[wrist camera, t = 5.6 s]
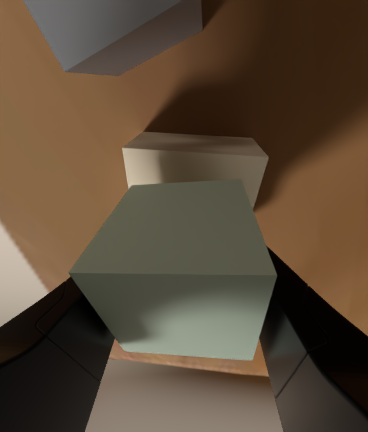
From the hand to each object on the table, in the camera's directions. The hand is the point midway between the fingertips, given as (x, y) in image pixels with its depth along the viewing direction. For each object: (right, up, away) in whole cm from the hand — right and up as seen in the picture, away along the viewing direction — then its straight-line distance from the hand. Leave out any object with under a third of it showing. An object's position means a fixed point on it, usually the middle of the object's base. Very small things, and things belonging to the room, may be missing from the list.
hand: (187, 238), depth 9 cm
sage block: (0, +1, +1) cm, 1 cm away
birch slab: (+1, +4, +5) cm, 6 cm away
